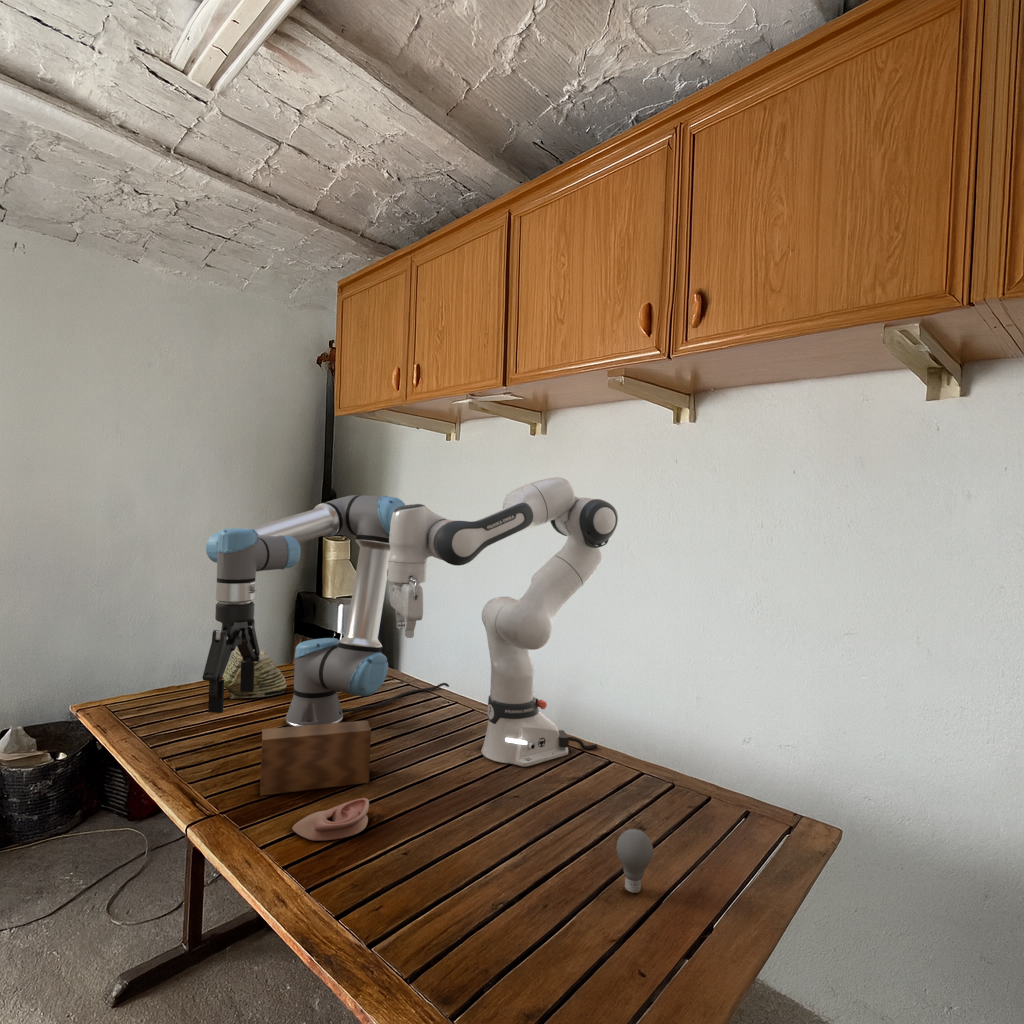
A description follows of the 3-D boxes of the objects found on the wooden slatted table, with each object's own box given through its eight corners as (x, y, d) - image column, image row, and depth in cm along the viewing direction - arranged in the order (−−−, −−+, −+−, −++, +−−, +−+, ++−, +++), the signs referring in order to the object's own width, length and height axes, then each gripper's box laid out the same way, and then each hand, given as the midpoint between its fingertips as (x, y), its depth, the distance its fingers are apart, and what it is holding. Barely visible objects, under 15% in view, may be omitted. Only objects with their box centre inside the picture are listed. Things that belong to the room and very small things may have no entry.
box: (260, 795, 133) (262, 739, 133) (260, 782, 139) (262, 729, 139) (368, 782, 141) (371, 730, 141) (364, 770, 147) (366, 720, 147)
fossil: (218, 695, 195) (220, 647, 195) (278, 685, 208) (279, 640, 207) (228, 703, 189) (230, 653, 188) (289, 692, 201) (290, 645, 201)
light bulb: (610, 879, 108) (613, 822, 108) (644, 879, 109) (647, 822, 109) (619, 902, 102) (622, 840, 102) (655, 901, 103) (658, 840, 103)
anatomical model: (284, 814, 117) (315, 787, 129) (283, 836, 118) (314, 807, 129) (350, 825, 115) (376, 796, 126) (349, 847, 115) (375, 816, 126)
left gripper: (223, 612, 121) (219, 722, 122) (277, 593, 146) (274, 685, 146) (185, 611, 121) (181, 720, 122) (245, 592, 146) (242, 683, 147)
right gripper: (431, 579, 139) (428, 642, 139) (411, 568, 158) (409, 623, 158) (402, 579, 136) (400, 643, 137) (385, 568, 156) (383, 624, 156)
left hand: (232, 701), depth 134 cm, fingers open, 13 cm apart
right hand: (404, 632), depth 148 cm, fingers open, 8 cm apart
